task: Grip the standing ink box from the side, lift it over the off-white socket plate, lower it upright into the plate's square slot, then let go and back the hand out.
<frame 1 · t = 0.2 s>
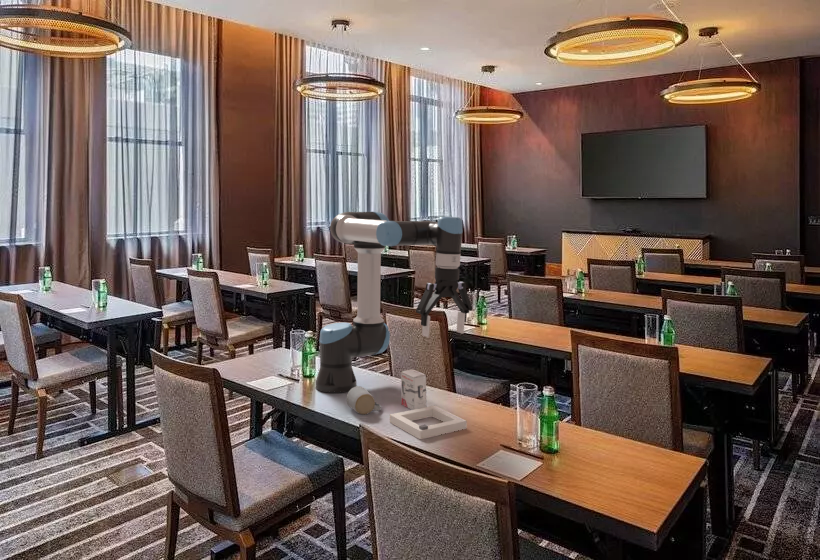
hand: (443, 334, 194), 27 cm above the table, tool pointing down, fingers open, 13 cm apart
ceramic mug: (364, 411, 204), on the table
ink box: (413, 407, 208), on the table
socket plate: (427, 425, 191), on the table
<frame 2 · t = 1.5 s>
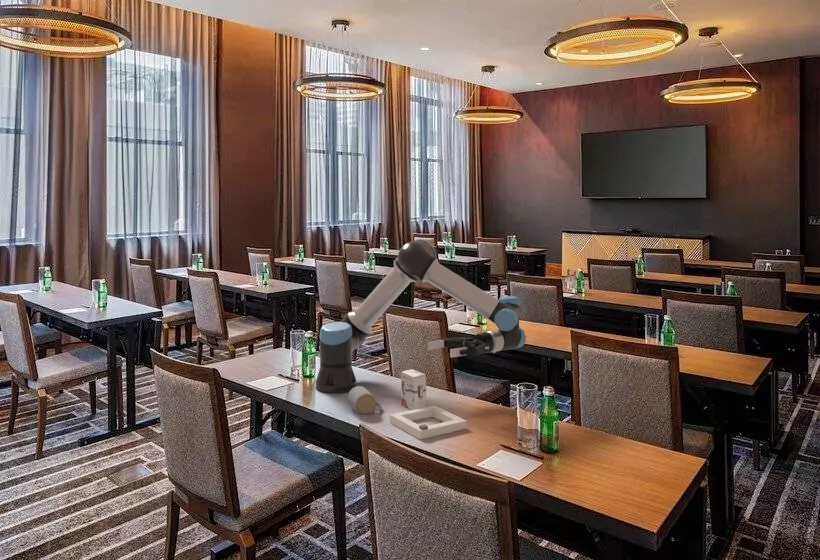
hand: (439, 349, 211), 19 cm above the table, tool horizontal, fingers open, 13 cm apart
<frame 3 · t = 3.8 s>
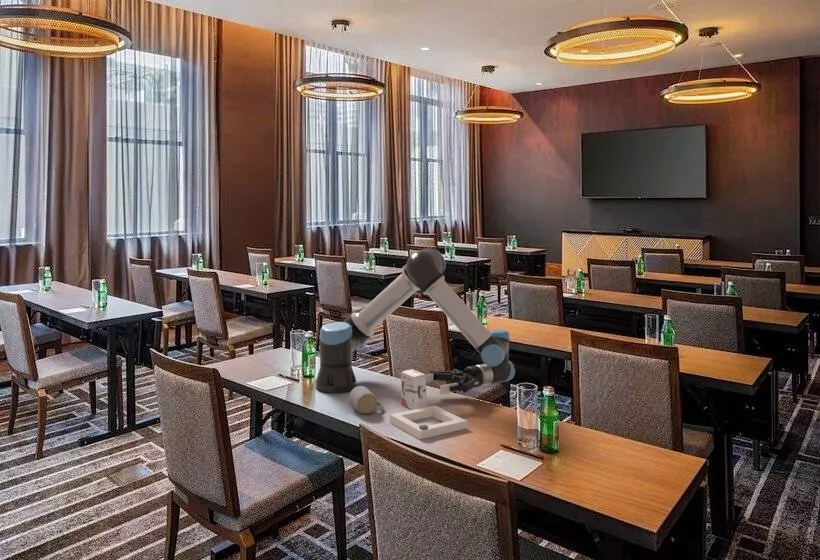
hand: (428, 384, 210), 7 cm above the table, tool horizontal, fingers open, 13 cm apart
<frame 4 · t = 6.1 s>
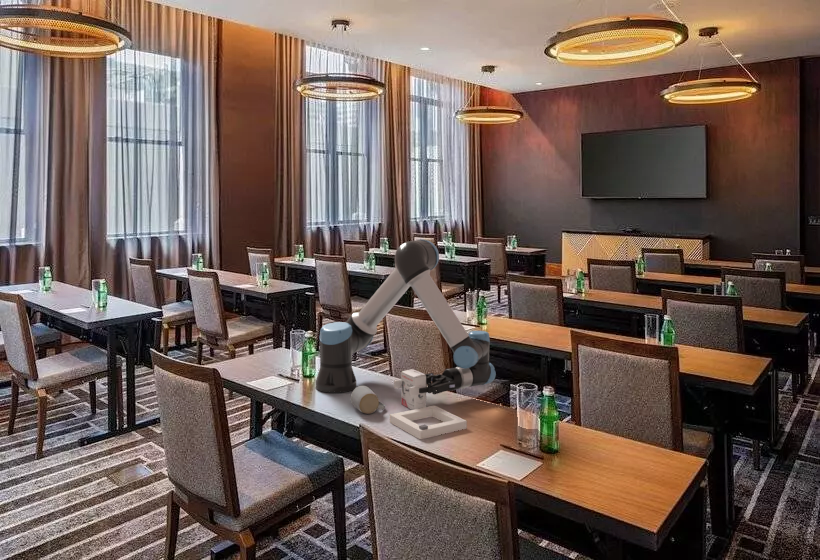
hand: (402, 388, 205), 7 cm above the table, tool horizontal, fingers closed on ink box, 9 cm apart
ink box: (413, 407, 208), on the table, touching gripper
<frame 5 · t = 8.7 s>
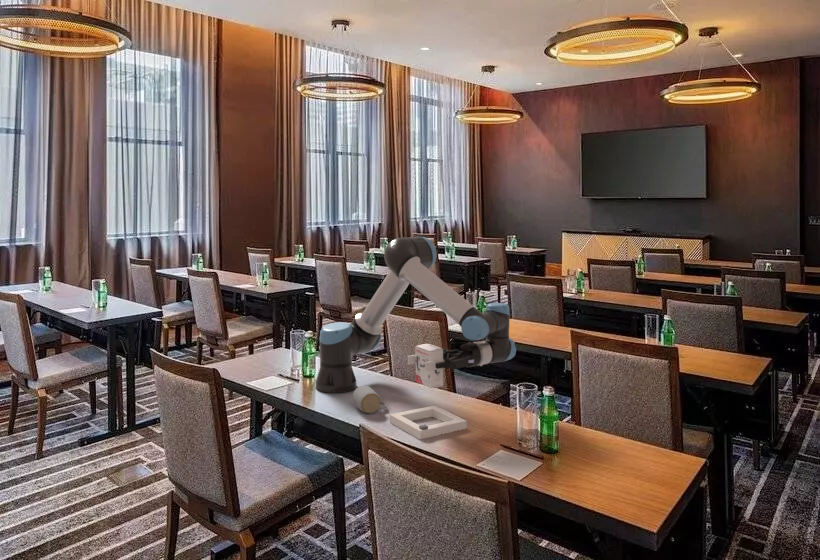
hand: (416, 363, 187), 20 cm above the table, tool horizontal, fingers closed on ink box, 9 cm apart
ink box: (429, 385, 191), point 12 cm above the table, touching gripper
when the fingers open (9 cm above the table, at t = 11.4 s): ink box drops 1 cm, resting in socket plate.
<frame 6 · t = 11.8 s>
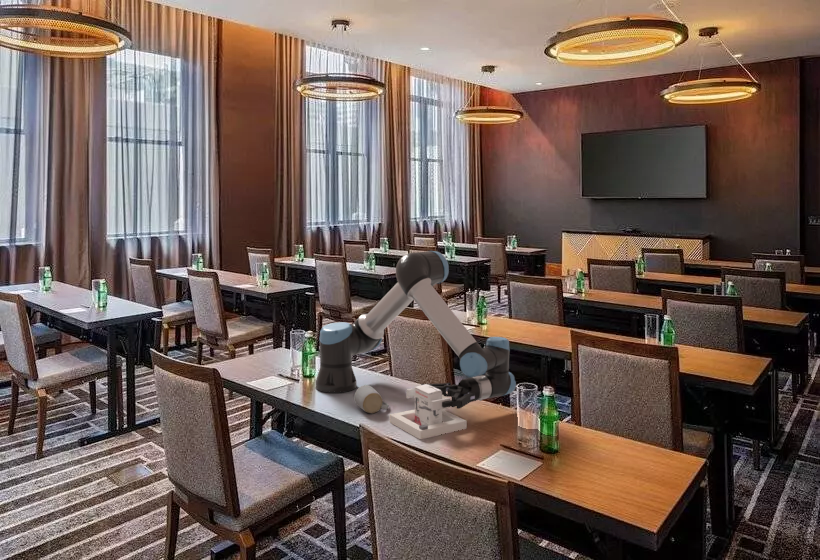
hand: (418, 399, 188), 9 cm above the table, tool horizontal, fingers open, 13 cm apart
ink box: (428, 426, 191), resting in socket plate
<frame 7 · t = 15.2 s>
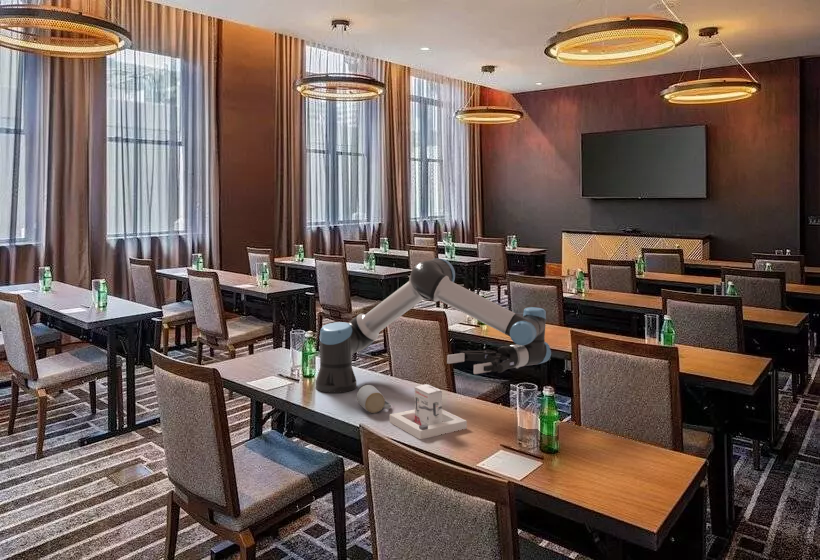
hand: (460, 364, 195), 18 cm above the table, tool horizontal, fingers open, 13 cm apart
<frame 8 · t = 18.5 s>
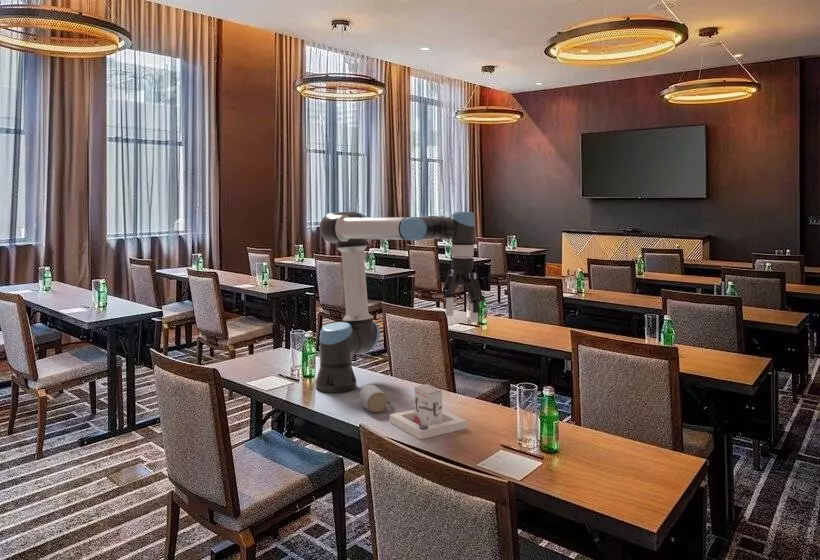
hand: (461, 318, 213), 29 cm above the table, tool pointing down, fingers open, 13 cm apart
at the end: ink box 0.2 cm off-centre on the socket plate, point 0.0 cm above the socket plate's base; ink box tilted 0°; the gripper is holding nothing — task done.
